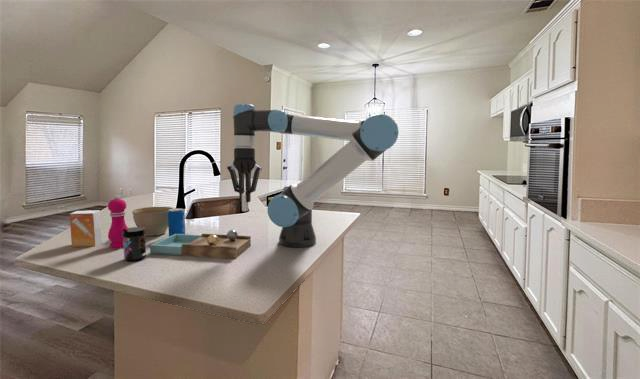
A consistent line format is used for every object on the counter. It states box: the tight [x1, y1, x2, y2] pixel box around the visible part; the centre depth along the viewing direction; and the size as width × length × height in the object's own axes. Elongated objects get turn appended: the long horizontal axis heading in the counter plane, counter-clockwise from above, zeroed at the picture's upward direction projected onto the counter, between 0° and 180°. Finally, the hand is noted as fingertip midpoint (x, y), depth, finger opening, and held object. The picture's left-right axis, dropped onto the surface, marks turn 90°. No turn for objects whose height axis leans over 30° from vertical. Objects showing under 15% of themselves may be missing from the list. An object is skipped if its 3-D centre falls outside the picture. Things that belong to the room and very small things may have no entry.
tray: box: [149, 233, 202, 257], centre depth 125 cm, size 12×16×3 cm
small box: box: [69, 209, 103, 248], centre depth 127 cm, size 8×6×13 cm
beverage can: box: [168, 207, 186, 237], centre depth 139 cm, size 6×6×12 cm
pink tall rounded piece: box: [107, 194, 129, 250], centre depth 125 cm, size 7×7×20 cm
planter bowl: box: [131, 206, 174, 237], centre depth 144 cm, size 16×16×11 cm
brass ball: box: [207, 235, 219, 246], centre depth 118 cm, size 4×4×4 cm
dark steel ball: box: [226, 229, 239, 240], centre depth 125 cm, size 4×4×4 cm
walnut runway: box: [182, 233, 252, 260], centre depth 122 cm, size 20×15×4 cm
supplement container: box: [122, 226, 147, 263], centre depth 112 cm, size 7×7×10 cm
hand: (245, 210), depth 123 cm, fingers closed
